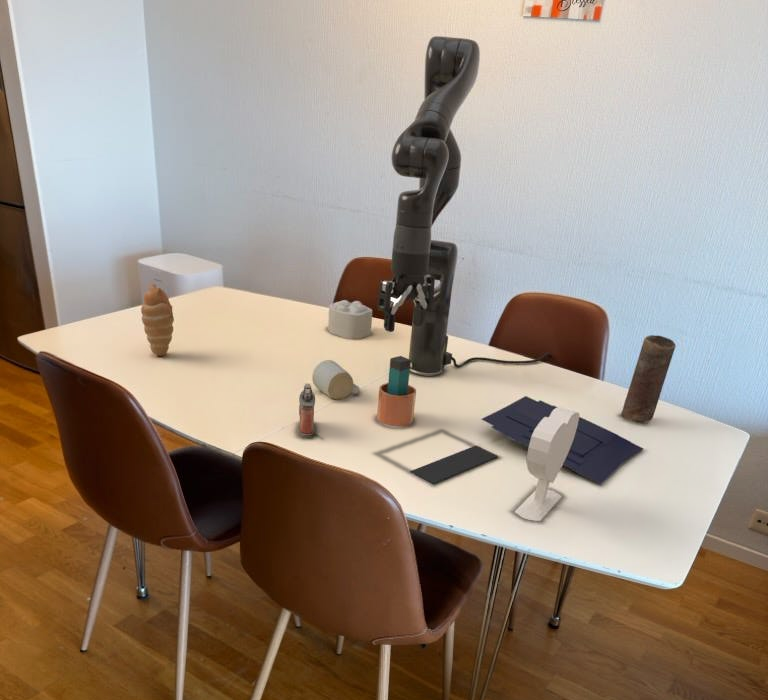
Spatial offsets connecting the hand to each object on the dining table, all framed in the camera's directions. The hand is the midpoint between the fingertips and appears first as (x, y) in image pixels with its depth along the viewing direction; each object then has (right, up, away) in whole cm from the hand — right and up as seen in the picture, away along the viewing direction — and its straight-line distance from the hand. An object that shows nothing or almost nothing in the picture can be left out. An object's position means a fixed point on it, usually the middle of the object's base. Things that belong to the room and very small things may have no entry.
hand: (403, 328), depth 151 cm
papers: (+35, -24, +7) cm, 43 cm away
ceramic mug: (-16, -11, +22) cm, 29 cm away
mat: (+7, -27, -3) cm, 28 cm away
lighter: (-21, -22, +3) cm, 30 cm away
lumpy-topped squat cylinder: (-15, +15, +65) cm, 68 cm away
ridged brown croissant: (-62, +2, +34) cm, 71 cm away
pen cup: (-2, -18, +11) cm, 21 cm away
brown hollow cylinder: (+58, -16, +23) cm, 64 cm away
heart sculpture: (+25, -38, -17) cm, 48 cm away
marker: (-2, -18, +11) cm, 21 cm away
